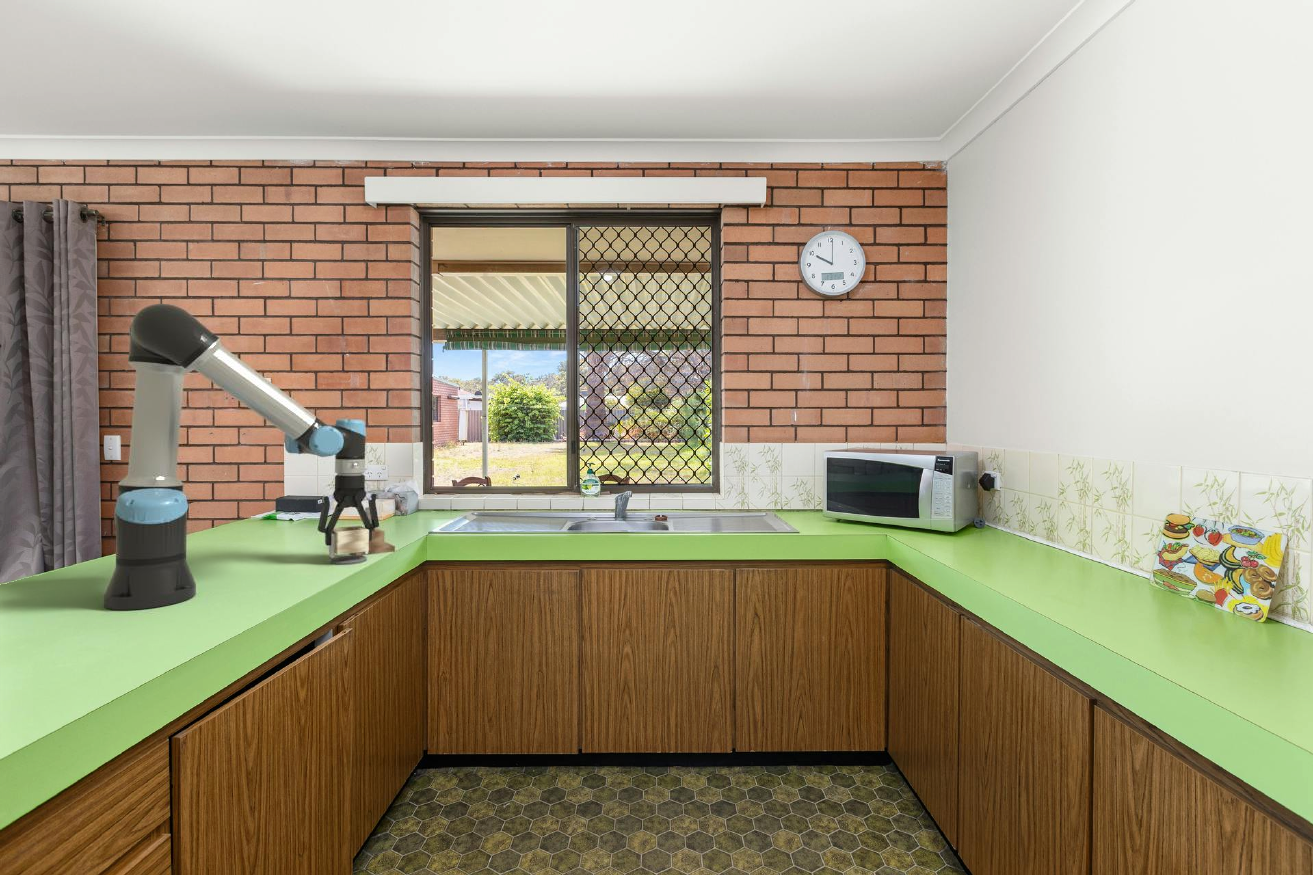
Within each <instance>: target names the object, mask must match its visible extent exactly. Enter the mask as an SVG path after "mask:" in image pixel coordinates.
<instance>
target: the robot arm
mask: <svg viewBox="0 0 1313 875" xmlns="http://www.w3.org/2000/svg"><path fill="white" fill-rule="evenodd" d="M128 334H129V335H128V336H129V350H128V360H127V363H128V364H129V365H130V366H131V367H132V368H133V369H134V370H135V374H136V375H135V387H134V397H133V407H132V408H133V410H132V420H131V431H130V445H129V446H130V447H129V457H128V468H127V469H128V470H127V471H128V472H127V475H126V477H124V478H123V479H121V480H120V481H119V482H118V485H117V495H116V496H117V497H116V504H115V507H114V513H113V518H114V519H113V520H114V523H115V569H114V571H113V573H112V576H111V577H110V581H109V584H108V586H107V588H106V590H105V593H104V596H103V606H104V608H106V609H110V610H119V611H120V610H123V611H125V610H126V611H128V610H144V609H151V608H152V609H153V608H158V607H165V606H168V605H174V604H177V603H182V602H184V601H187V600H190V599H192V598H193V597H195V596H196V595H197V585H196V582H195V579H194V576H193V574H192V571H191V570H190V566H189V564H188V561H187V533H188V532H187V527H188V526H187V523H188V522H187V520H188V519H187V516H188V513H187V512H188V509H189V504H188V500H187V495H186V494H185V493H184V482H182V481H181V479H179V478H178V477H177V470H178V469H177V467H178V453H179V444H180V443H179V442H180V433H181V432H180V430H181V421H182V420H181V419H182V418H181V417H182V408H183V407H182V406H183V405H182V404H183V395H184V393H183V392H184V380H185V376H186V375H188V374H190V373H191V372H192V371H196V372H198V374H200V375H202V376H203V377H205V378H206V379H207V380H209V381H210V382H212V383H213V384H215V385H216V386H217V387H218V388H220V389H221V390H223V391H224V392H226V393H227V394H229V395H230V396H231V397H233V399H235V400H237V401H238V402H240V403H241V404H243V405H244V406H246V408H248V409H250V410H251V411H253V412H254V413H256V414H257V415H258V416H260V417H262V418H263V419H264V420H265V421H266V422H268V423H270V424H272V426H274V427H276V428H277V429H278V430H280V431H282V433H284V440H283V441H284V447H285V451H286V452H287V453H288V454H296V455H297V454H298V455H301V454H304V455H305V454H308V455H315V456H318V457H321V458H327V457H333V456H335V457H334V460H335V462H334V473H336V475H335V476H334V490H333V493H332V494H329V495H322V496H321V501H322V505H321V506H322V507H321V511H320V516H319V521H318V527H317V531H318V532H320V533H322V534H324V543H325V545H326V546H327V547H328V556H329V558H331V559H333V558H336V556H335V534H334V533H332V531H333V529H334V528H336V525H337V523H338V521H339V518H340V517H341V514H342V512H343V511H344V510H345V509H348V508H355V509H356V510H357V512H358V515H359V517H360V519H361V521H362V524H363V526H364V528H366V529H368V530H369V541H371V540H372V530H373V529H374V528H379V527H380V523H379V516H378V510H377V504H376V501H377V500H376V499H377V494H376V493H374V492H370V493H369V492H366V490H365V489H366V488H365V487H366V485H365V484H366V476H365V472H366V444H367V443H366V440H367V430H366V429H367V428H366V422H365V421H364V420H363V419H349V418H348V419H347V418H344V419H343V418H338V419H336V420H335V423H334V425H328V424H326V422H323V421H322V419H320V418H318V417H317V416H316V415H315V414H313V413H312V412H311V411H309V410H308V409H307V408H305V407H304V406H303V405H301V404H300V403H298V401H296V400H295V399H293V398H292V397H290V395H288V394H287V393H286V392H284V391H282V390H281V388H279V387H278V386H276V385H275V384H273V383H272V382H271V381H269V380H268V379H267V378H265V377H264V376H263V375H261V373H259V372H258V371H256V370H255V369H254V368H252V367H251V366H249V365H248V364H247V363H245V362H244V361H242V359H240V358H239V357H237V355H234V353H232V352H231V351H229V350H228V349H226V347H224V346H223V345H222V342H221V338H220V337H218V336H217V335H216V334H214V333H213V332H212V331H211V330H209V328H207V327H206V326H205V325H204V324H203V323H201V321H199V320H198V319H197V318H196V317H194V316H193V315H192V314H191V313H189V311H187V310H186V309H184V308H181V307H179V306H176V305H173V304H169V303H156V304H151V305H148V306H145V307H143V308H141V310H139V311H138V312H137V313H136V315H135V316H134V317H133V319H132V322H131V324H130V326H129V332H128ZM365 498H366V501H368V503H367V504H368V507H369V510H370V516H371V521H372V524H371V523H370V521H369V519H368V517H367V514H366V512H365V508H364V504H363V503H362V502H363V501H364V500H365ZM333 499H334V500H335V501H336V505H335V507H334V511H333V513H332V515H331V517H330V519H329V522H328V517H329V512H330V508H331V503H332V502H333ZM363 553H364V554H367V555H369V554H368V551H365V552H363Z"/></svg>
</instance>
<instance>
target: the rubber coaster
mask: <svg viewBox="0 0 1313 875" xmlns="http://www.w3.org/2000/svg"><path fill="white" fill-rule="evenodd" d="M367 559H368V558H367V556H366V555H354V554H351V555H341V556H340V555H339V556H335V558H331V559H330V564H332V565H343V566H345V565H347V566H348V565H355V564H361V563H363V562H366V561H367Z"/></svg>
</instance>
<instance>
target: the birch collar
mask: <svg viewBox="0 0 1313 875" xmlns="http://www.w3.org/2000/svg"><path fill="white" fill-rule="evenodd" d="M332 533H334V534H335V554H336V555H339V556H340V555H345V554H352V553H356V552H365V551H369V530H368V529H366V528H365V526H364V527H363V526H362V525H355V526H353V525H352V526H342V527H334V529H333V531H332Z"/></svg>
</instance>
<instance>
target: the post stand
mask: <svg viewBox="0 0 1313 875" xmlns="http://www.w3.org/2000/svg"><path fill="white" fill-rule="evenodd" d="M364 510H365V512H366V514H367V517H368V519H369V521H370V523H371V524H372V521H371V516H370V510H369V506H368V507H365V508H364ZM395 550H396V546H395V545H393V544H392V543H391V544H390V543H388V542H386V541H385V530H383V529H380V528H379V527H376V528H374V529H373V530H372V540H371V541H369V551H368V554H364V553H363V552H356V553H351V555H360V556H366V555H372V554H381V553H382V554H383V553H392V552H395Z"/></svg>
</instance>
